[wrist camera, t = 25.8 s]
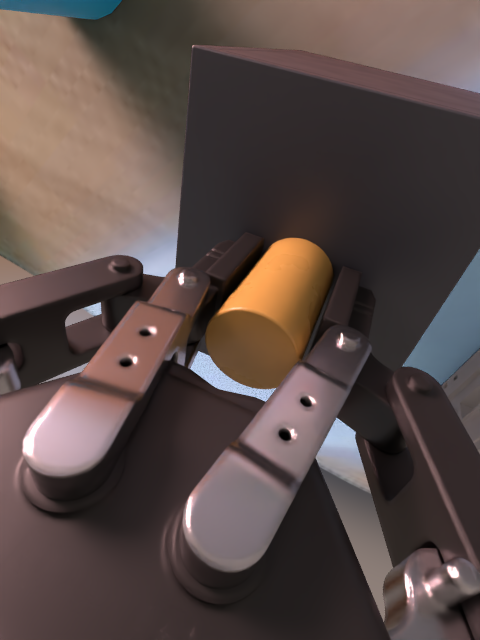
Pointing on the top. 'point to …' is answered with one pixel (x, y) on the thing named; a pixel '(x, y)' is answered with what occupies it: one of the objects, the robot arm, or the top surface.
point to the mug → (63, 7)
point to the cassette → (467, 396)
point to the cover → (325, 198)
